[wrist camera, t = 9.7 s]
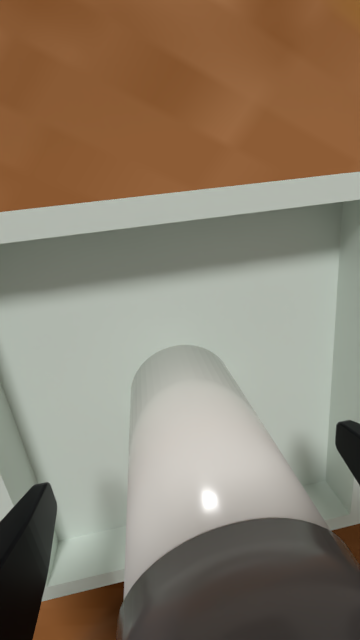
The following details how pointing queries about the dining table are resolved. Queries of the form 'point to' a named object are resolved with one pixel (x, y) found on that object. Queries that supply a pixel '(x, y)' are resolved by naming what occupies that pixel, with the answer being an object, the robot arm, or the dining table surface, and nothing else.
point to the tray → (174, 341)
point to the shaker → (222, 519)
